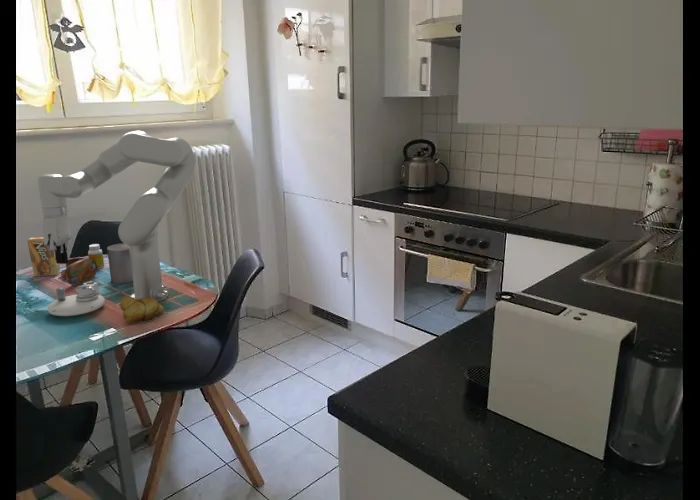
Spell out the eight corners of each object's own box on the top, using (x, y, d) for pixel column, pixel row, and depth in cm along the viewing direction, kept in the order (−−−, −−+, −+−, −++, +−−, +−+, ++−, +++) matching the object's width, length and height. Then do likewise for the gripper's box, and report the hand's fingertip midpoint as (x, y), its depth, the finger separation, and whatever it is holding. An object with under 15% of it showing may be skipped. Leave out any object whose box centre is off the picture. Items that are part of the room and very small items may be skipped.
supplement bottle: (100, 269, 213) (97, 247, 210) (87, 269, 213) (84, 247, 210) (106, 265, 218) (103, 243, 215) (94, 265, 218) (91, 243, 215)
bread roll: (162, 310, 172) (159, 288, 170) (167, 320, 164) (165, 297, 162) (121, 317, 166) (118, 295, 164) (125, 329, 158) (121, 305, 156)
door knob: (103, 296, 177) (101, 285, 176) (85, 303, 171) (83, 292, 170) (90, 292, 180) (88, 282, 179) (71, 299, 174) (69, 288, 173)
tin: (72, 288, 192) (69, 267, 189) (65, 287, 192) (61, 266, 190) (99, 275, 206) (96, 255, 203) (92, 274, 206) (89, 255, 204)
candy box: (61, 271, 209) (55, 236, 205) (57, 275, 205) (51, 238, 201) (37, 273, 207) (30, 237, 203) (33, 276, 203) (26, 240, 199)
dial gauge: (99, 293, 187) (97, 282, 186) (91, 295, 184) (90, 284, 183) (91, 291, 189) (90, 280, 187) (84, 293, 186) (82, 283, 185)
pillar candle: (113, 276, 204) (108, 241, 200) (139, 274, 207) (134, 239, 202) (109, 284, 195) (104, 247, 191) (136, 282, 198) (131, 245, 193)
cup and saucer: (62, 272, 209) (60, 258, 207) (94, 268, 214) (92, 254, 212) (59, 281, 199) (57, 266, 197) (93, 277, 203) (91, 263, 202)
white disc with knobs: (115, 304, 176) (113, 288, 174) (70, 322, 161) (67, 305, 159) (83, 295, 183) (81, 280, 181) (37, 312, 169) (34, 295, 167)
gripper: (55, 206, 177) (62, 256, 183) (31, 215, 163) (39, 269, 168) (77, 206, 178) (83, 256, 183) (55, 216, 163) (62, 270, 169)
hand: (62, 262), depth 176 cm, fingers closed
